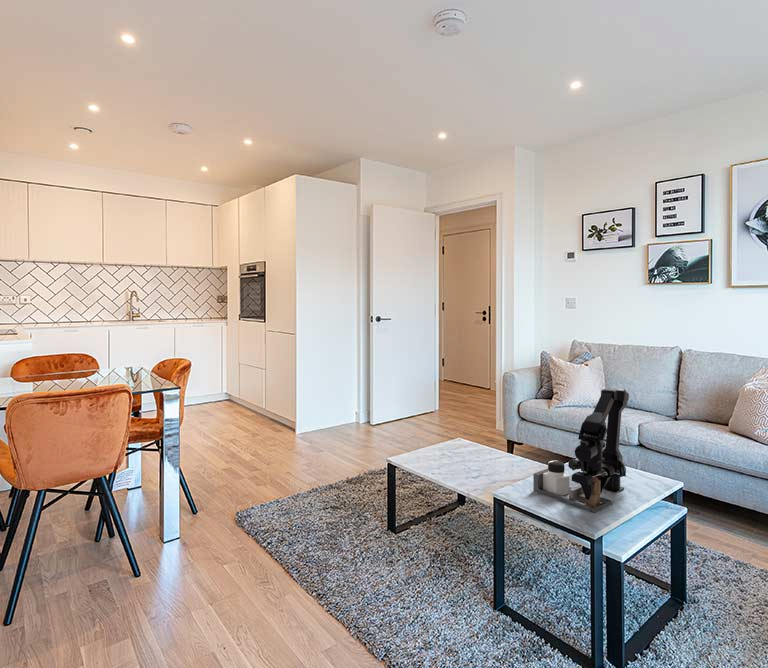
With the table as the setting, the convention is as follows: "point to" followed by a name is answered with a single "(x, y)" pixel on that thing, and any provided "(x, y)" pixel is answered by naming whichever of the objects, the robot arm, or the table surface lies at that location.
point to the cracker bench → (539, 489)
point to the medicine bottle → (556, 479)
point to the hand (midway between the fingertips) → (593, 497)
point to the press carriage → (579, 495)
